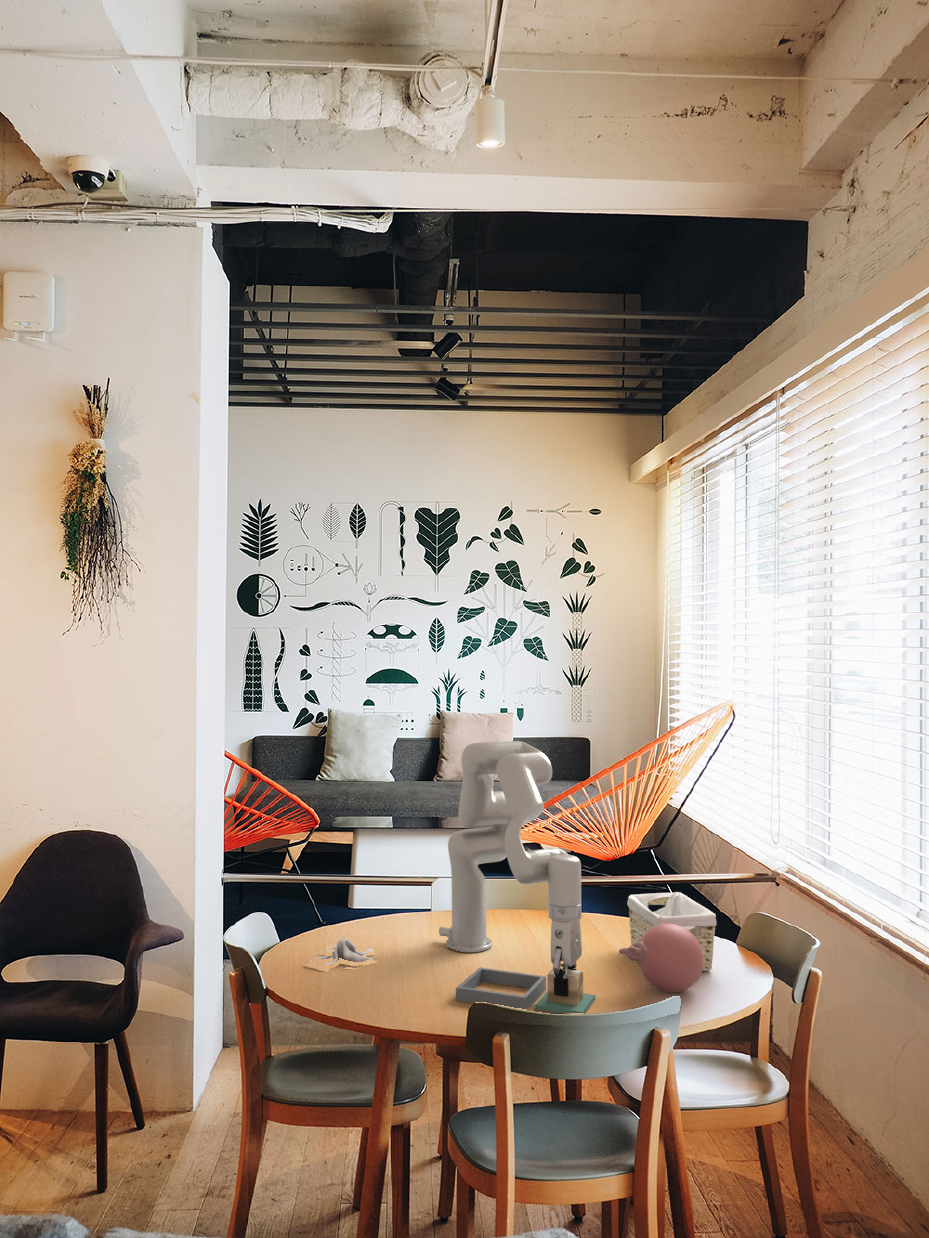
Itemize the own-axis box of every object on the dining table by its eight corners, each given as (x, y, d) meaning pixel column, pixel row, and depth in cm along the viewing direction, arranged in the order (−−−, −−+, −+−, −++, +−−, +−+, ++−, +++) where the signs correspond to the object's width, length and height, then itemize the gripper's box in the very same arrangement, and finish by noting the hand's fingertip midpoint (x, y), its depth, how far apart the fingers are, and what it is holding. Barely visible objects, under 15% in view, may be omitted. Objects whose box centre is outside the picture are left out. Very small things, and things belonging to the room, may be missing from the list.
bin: (456, 1000, 211) (455, 987, 211) (479, 979, 225) (479, 967, 225) (525, 1011, 205) (525, 997, 205) (546, 989, 218) (546, 976, 219)
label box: (577, 1005, 205) (577, 977, 206) (547, 1001, 208) (547, 973, 208) (583, 997, 210) (583, 970, 210) (553, 993, 213) (553, 966, 213)
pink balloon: (613, 979, 225) (612, 915, 226) (694, 978, 225) (693, 915, 226) (624, 1002, 210) (624, 934, 210) (711, 1002, 210) (710, 934, 211)
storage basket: (625, 947, 250) (625, 892, 251) (681, 944, 253) (681, 890, 253) (658, 977, 226) (657, 917, 227) (719, 973, 229) (718, 914, 230)
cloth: (298, 974, 231) (298, 949, 231) (311, 951, 249) (311, 928, 249) (386, 974, 230) (386, 949, 231) (393, 951, 249) (393, 928, 249)
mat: (535, 1009, 206) (535, 1004, 206) (549, 992, 216) (549, 988, 216) (582, 1016, 202) (582, 1011, 202) (595, 999, 212) (595, 994, 212)
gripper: (570, 922, 200) (570, 1006, 200) (590, 903, 216) (591, 980, 216) (537, 918, 203) (538, 1001, 203) (559, 899, 219) (560, 976, 218)
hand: (565, 989), depth 209 cm, fingers open, 6 cm apart
